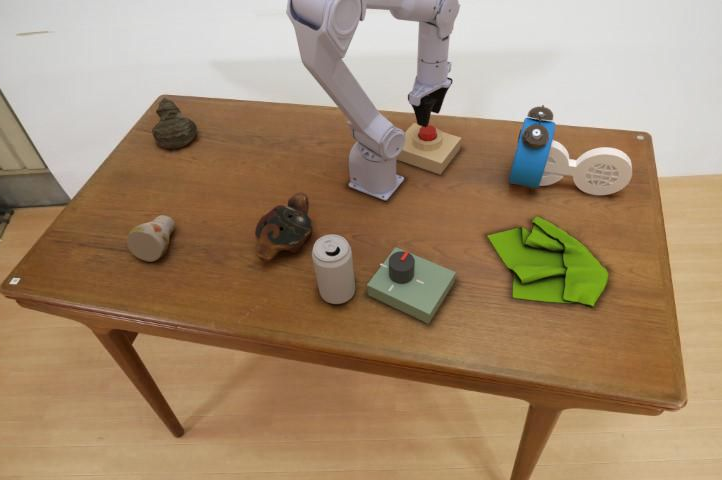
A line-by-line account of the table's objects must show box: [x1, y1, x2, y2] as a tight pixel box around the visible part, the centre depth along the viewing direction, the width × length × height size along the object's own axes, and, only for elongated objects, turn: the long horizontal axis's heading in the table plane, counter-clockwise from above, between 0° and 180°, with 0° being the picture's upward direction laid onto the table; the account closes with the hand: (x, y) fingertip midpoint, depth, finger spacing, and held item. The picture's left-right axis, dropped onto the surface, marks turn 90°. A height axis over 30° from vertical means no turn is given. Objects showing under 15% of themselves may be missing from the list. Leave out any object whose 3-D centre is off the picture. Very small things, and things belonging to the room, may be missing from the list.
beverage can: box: [311, 233, 356, 305], centre depth 81 cm, size 6×6×12 cm
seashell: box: [151, 97, 198, 150], centre depth 112 cm, size 11×12×10 cm
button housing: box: [396, 122, 462, 175], centre depth 107 cm, size 12×10×5 cm
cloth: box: [486, 216, 610, 307], centre depth 87 cm, size 20×22×2 cm
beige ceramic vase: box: [125, 214, 176, 262], centre depth 92 cm, size 8×10×10 cm
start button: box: [419, 124, 437, 141], centre depth 104 cm, size 4×4×2 cm
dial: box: [389, 250, 415, 284], centre depth 82 cm, size 4×4×4 cm
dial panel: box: [366, 246, 457, 325], centre depth 84 cm, size 12×10×3 cm
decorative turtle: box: [254, 191, 313, 263], centre depth 90 cm, size 10×15×8 cm, turn 155°
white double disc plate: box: [539, 139, 633, 196], centre depth 96 cm, size 22×2×10 cm, turn 73°
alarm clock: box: [508, 104, 556, 193], centre depth 96 cm, size 13×6×15 cm, turn 160°
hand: (428, 118), depth 101 cm, fingers open, 5 cm apart
